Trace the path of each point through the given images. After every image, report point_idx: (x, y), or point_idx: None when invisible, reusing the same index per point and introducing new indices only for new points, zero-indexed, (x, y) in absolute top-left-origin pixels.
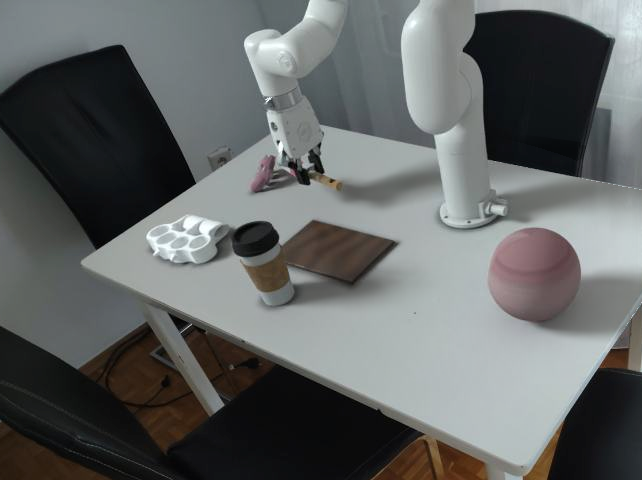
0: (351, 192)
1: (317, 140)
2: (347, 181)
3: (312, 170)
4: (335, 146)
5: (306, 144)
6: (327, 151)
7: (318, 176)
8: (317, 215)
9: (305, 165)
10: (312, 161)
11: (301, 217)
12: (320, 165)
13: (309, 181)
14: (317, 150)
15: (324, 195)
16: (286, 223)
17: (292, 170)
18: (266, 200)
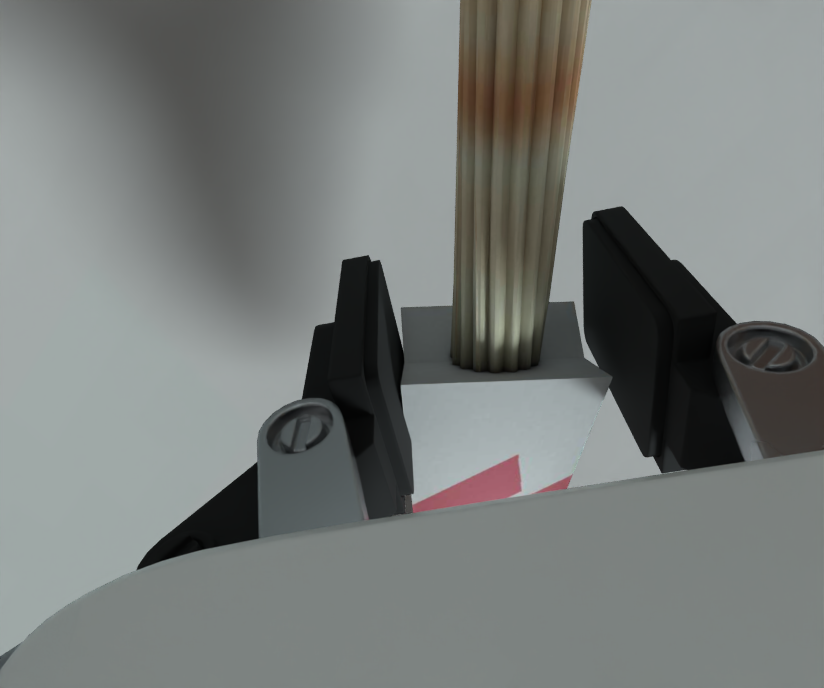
0: (215, 66)
1: (250, 619)
2: (154, 236)
3: (480, 323)
4: (32, 566)
5: (791, 676)
6: (91, 563)
7: (547, 142)
8: (612, 48)
9: (463, 445)
10: (399, 422)
11: (677, 152)
12: (366, 310)
13: (611, 221)
14: (306, 469)
15: (379, 238)
16: (775, 190)
17: (558, 489)
18: (589, 477)
